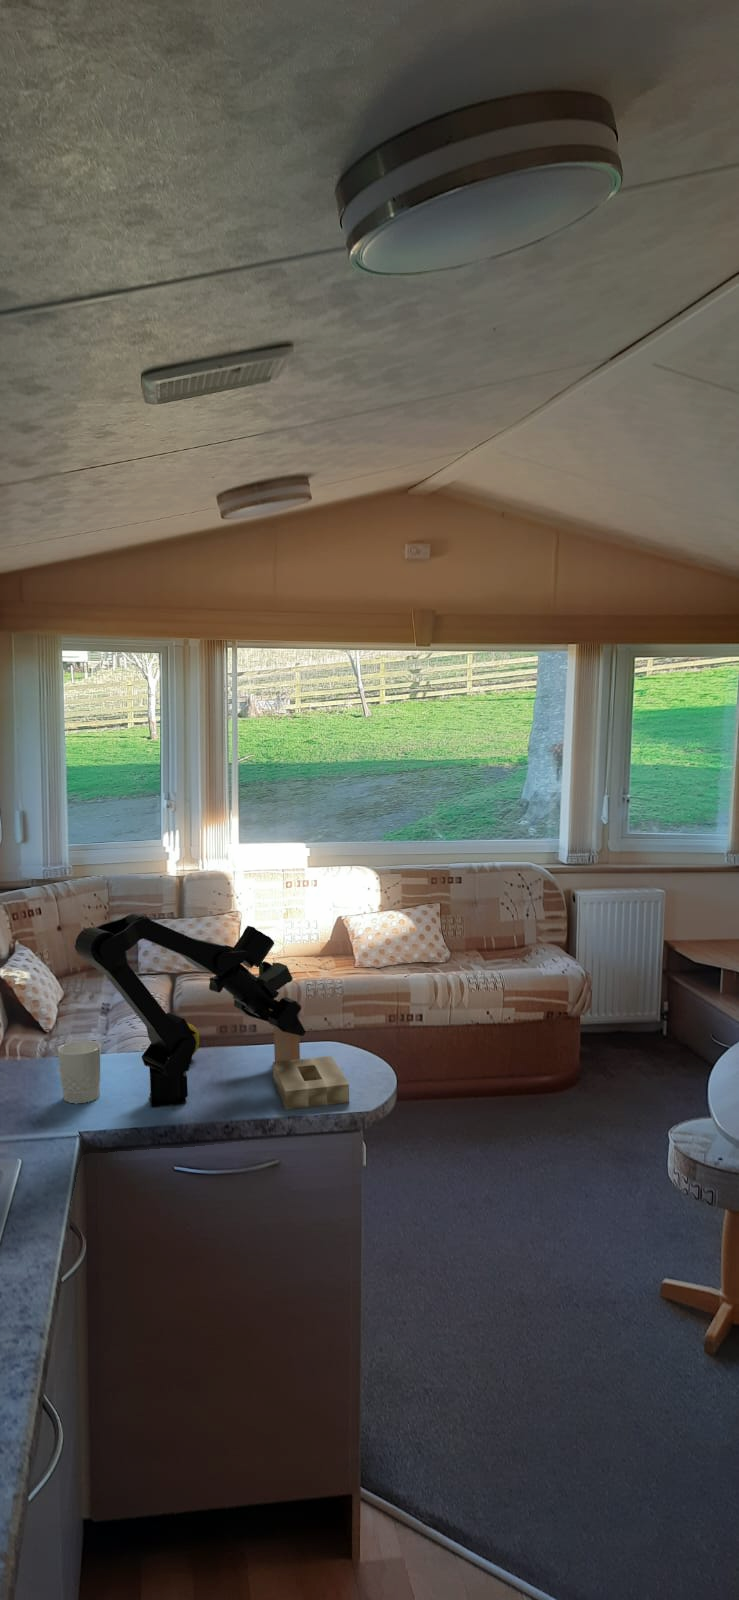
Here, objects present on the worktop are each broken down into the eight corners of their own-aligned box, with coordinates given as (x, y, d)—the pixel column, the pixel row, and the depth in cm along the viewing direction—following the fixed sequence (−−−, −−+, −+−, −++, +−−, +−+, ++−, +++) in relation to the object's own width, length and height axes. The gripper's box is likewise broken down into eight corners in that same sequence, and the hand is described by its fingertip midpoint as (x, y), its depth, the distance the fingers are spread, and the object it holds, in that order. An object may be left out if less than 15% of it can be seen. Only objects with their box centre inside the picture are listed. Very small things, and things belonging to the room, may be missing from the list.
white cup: (110, 1096, 199) (108, 1046, 198) (74, 1109, 193) (71, 1057, 192) (88, 1086, 205) (86, 1037, 204) (52, 1098, 199) (49, 1048, 198)
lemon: (202, 1054, 222) (201, 1018, 221) (195, 1063, 216) (194, 1026, 216) (177, 1054, 222) (176, 1018, 222) (170, 1063, 217) (168, 1026, 216)
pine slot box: (286, 1109, 191) (285, 1091, 191) (273, 1079, 207) (272, 1062, 206) (349, 1102, 194) (348, 1084, 194) (332, 1072, 210) (331, 1056, 209)
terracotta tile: (289, 1070, 211) (288, 1008, 210) (274, 1062, 216) (272, 1002, 215) (300, 1067, 213) (298, 1006, 211) (285, 1060, 218) (283, 999, 216)
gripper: (291, 962, 202) (339, 1006, 210) (245, 945, 217) (291, 987, 225) (257, 1009, 198) (307, 1052, 206) (212, 988, 213) (260, 1029, 221)
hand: (292, 1028), depth 214 cm, fingers open, 9 cm apart
